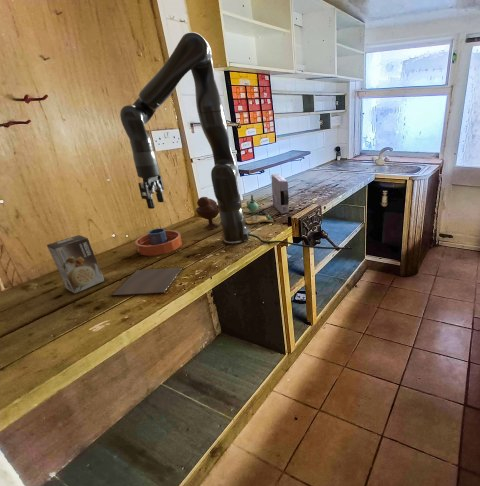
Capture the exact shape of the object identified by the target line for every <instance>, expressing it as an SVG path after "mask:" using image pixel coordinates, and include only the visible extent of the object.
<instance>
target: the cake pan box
mask: <svg viewBox="0 0 480 486" xmlns="http://www.w3.org/2000/svg"><path fill="white" fill-rule="evenodd" d="M270 175H271V192H272V206H274V207H275V209H276V210H277V211H278V212H279V213H280V214H282V215H283V214H289V213H290V204H289V203H290V198H289V197H290V196H289V181H288V180H287V178H285V177H284V176H282V175H280V174H279V173H273V174H272V173H271V174H270Z"/></svg>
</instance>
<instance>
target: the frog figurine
mask: <svg viewBox="0 0 480 486" xmlns="http://www.w3.org/2000/svg"><path fill="white" fill-rule="evenodd" d="M260 209H261V212H262V213H263V211H264V210H263V209H262V207H260V206H259V205H258V203H257V202H256V201H255V199H254V194H251V195H250V201H247V202H246V208H245V207H242V210H245V211H244V214H246V213H248V212H251V213H250V214H249V215H248V217H244V218H245V223H246V224H249V225H251V224H258V223H262V222H264V223H274V222H275V220H273V218H272V216H270V215H269V213H268V212H267V213H266V215H263V214H262V213H260ZM255 212H256V213H257V214H256V213H255Z"/></svg>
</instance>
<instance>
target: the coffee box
mask: <svg viewBox="0 0 480 486" xmlns="http://www.w3.org/2000/svg"><path fill="white" fill-rule="evenodd" d="M46 247H47V250H48V251H49V253H50V256H51V258H52V260H53V262H54V264H55V267H56V269H57V271H58V273H59V275H60V277H61V279H62V282H63V284H64V287H65V289H67V290H68V291H70V292H71V293H73V294H78V293H79V292H82V291H85V290H87V289H89V288H92V287H93V286H94V287H95V286H96V285H98V284H101V283H103V282H105V278H104V275H103V273H102V270H101V268H100V265H99V263H98V259H97V257H96V255H95V253H94V250H93V247H92V245H91V243H90V240H89V238H88V237H86V236H84V235H80V234H77V235H75V236H71V237H68V238H65V239H62V240H58V241H55V242H52V243H48V244H46Z"/></svg>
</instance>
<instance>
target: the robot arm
mask: <svg viewBox="0 0 480 486" xmlns="http://www.w3.org/2000/svg"><path fill="white" fill-rule="evenodd" d="M190 71H191V75H192V78H193V82H194V89H195V90H194V91H195V104H196V111H197V116H198V120H199V123H200V127H201V129H202V132H203V134H204V136H205V139H206V140H207V142H208V144H209V146H210V149H211V152H212V157H213V163H214V166H213V167H212V168H211V171H210V179H211V184H212V189H213V193H214V197H215V199H216V203H217V205H218V208H219V213H218V214H219V219H220V225H221V231H222V237H223V243H224V244H227V245H237V244H241V243H245V242H246V241H249V239H250V237H253V238H255V239H257V240H259V241H260V242H261V243H264V244H277V243H279V244H287V245H290V246H296V247H303V248H309V249H318V250H319V249H322V250H352V249H353V247H352V246H342V247H341V246H317V245H308V244H301V243H296V242H291V241H284V240H263V239H261V237H260V236H258V235H256V234H252V233H250V229H249V228H247V225H246V222H245V218H246V217H245V216H244V215H243V207H242V199H241V194H240V192H239V188H238V181H237V179H238V176H239V171H238V167H237V163H236V161H235V158H234V155H233V152H232V148H231V144H230V137H229V130H228V129H229V128H228V125H227V119H226V115H225V110H224V106H223V102H222V99H221V98H222V97H221V95H220V92H219V89H218V85H217V81H216V76H215V70H214V63H213V54H212V49H211V46H210V44H209V42H208V41H207V40H206V39H205V38H204V36H202V35H201V34H199V33H197V32H195V31H189V32H186V33H185V34H184V35H182V36H181V38H180V40H179V41H178V43H177V45H176V46H175V48H174V49H173V51H172V53H171V54H170V56H169V58H168V59H167V60H166V62H165V63H164V64H163V66H162V67H161V68H160V69H159V70H158V71H157V73H156V74H155V75H153V77H152V78H150V80H149V81H148V82H147V83H146V84H145V86H143V88H141V90H140V91H139V92H138V97H137V99H136V100H135V101H134V102H133V103H132V104H128V105H124V106H122V107H121V109H120V111H119V118H120V121H121V125H122V127H123V129H124V132H125V134H126V136H127V137H128V140H129V143H130V144H129V145H130V148H131V151H132V159H133V163H134V166H135V171H136V174H137V177H138V178H141V179H142V182H138V189H139V193H140V197H141V199H142V200H145V201H146V205H147V208H148V209H149V210H152V209H155V202H154V198H153V196H154V194H155V195H156V200H157V203H164V202H165V199H164V194H163V193H164V191H165V185H164V182H163V178H162V175H161V172H160V168H159V167H160V166H159V163H158V159H157V154H156V152H155V149H154V145H153V140H152V137H151V136H150V134H148V132H147V130H146V124H147V123H148V122H149V121H151V119H152V118H153V116H154V115H155V113H156V112H157V110H158V109H160V107H162V105H163V104H164V103H166V101H167V100H168V98H169V97H170V96H171V95H172V93H174V91H175V89H176V88H177V86H178V85H179V83H180V81H181V80H182V79H183V78H184V76H185V75H186V74H188V73H189V72H190Z"/></svg>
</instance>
